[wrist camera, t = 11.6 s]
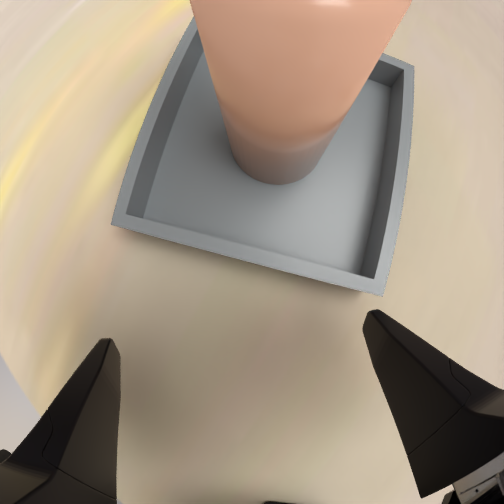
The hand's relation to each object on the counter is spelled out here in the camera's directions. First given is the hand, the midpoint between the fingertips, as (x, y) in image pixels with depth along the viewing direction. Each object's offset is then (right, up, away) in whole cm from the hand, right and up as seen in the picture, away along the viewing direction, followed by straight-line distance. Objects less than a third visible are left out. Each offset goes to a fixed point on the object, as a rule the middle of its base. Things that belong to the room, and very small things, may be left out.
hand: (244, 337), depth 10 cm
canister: (+2, +10, +9) cm, 13 cm away
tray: (+2, +10, +10) cm, 14 cm away
